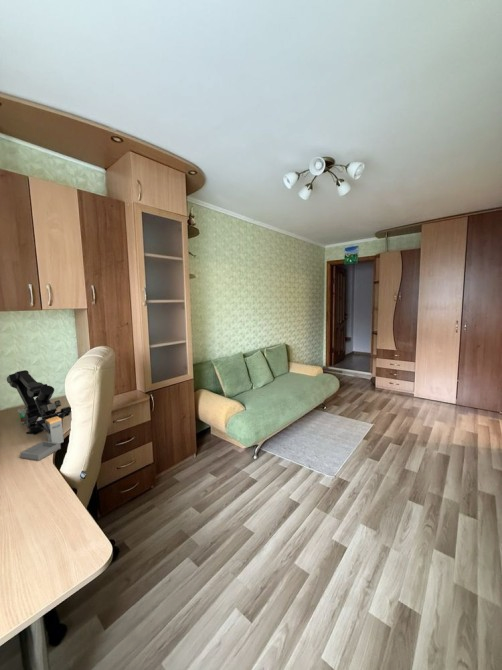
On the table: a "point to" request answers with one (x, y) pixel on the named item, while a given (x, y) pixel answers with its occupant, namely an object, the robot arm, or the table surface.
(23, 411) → the food container
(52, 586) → the table surface
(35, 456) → the tray
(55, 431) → the gray orange box
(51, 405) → the robot arm
